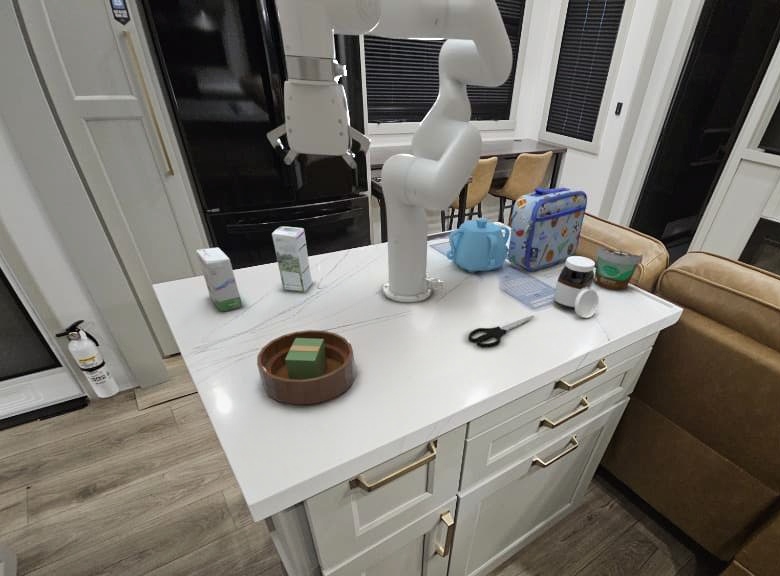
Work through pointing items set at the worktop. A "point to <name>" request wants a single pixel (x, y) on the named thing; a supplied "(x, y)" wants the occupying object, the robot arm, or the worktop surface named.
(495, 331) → the scissors
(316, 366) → the package
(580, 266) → the spread jar
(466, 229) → the decorative pot
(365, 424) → the worktop surface
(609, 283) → the food container
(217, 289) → the ink box
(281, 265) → the syrup box
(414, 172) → the robot arm
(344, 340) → the bowl
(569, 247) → the lunch box
